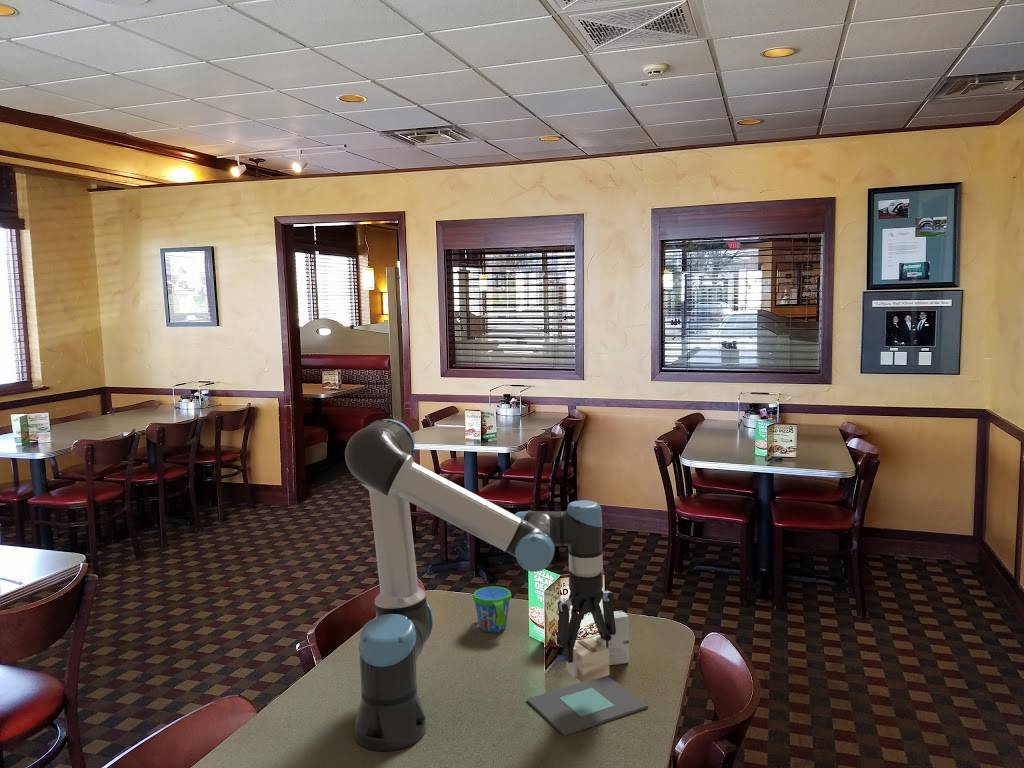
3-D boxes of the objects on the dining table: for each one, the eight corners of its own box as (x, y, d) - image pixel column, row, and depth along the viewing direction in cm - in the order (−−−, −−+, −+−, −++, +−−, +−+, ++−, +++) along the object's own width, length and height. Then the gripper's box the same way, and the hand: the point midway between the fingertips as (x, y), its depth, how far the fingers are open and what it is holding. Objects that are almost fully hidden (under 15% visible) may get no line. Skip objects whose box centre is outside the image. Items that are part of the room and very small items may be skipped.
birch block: (609, 674, 166) (609, 648, 166) (583, 682, 163) (582, 655, 162) (592, 662, 172) (591, 636, 172) (566, 669, 169) (565, 643, 168)
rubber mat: (564, 736, 156) (564, 732, 156) (526, 701, 170) (526, 698, 170) (647, 707, 167) (647, 705, 167) (606, 677, 181) (606, 674, 181)
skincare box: (607, 666, 186) (607, 619, 185) (600, 658, 191) (600, 612, 189) (629, 662, 188) (629, 616, 187) (622, 654, 192) (622, 609, 191)
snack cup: (469, 618, 216) (468, 584, 215) (505, 614, 219) (504, 581, 217) (479, 642, 201) (478, 605, 200) (517, 637, 203) (516, 601, 202)
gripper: (612, 558, 173) (613, 653, 176) (538, 574, 164) (540, 674, 166) (632, 567, 167) (633, 666, 169) (556, 585, 157) (558, 689, 160)
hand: (587, 670), depth 168 cm, fingers closed on birch block, 7 cm apart
